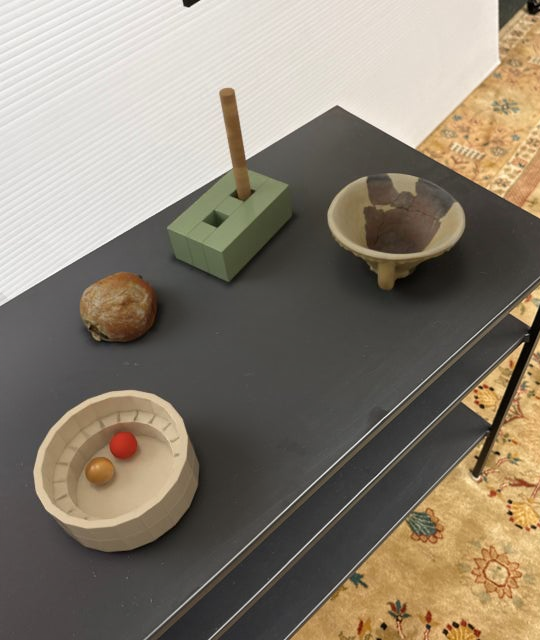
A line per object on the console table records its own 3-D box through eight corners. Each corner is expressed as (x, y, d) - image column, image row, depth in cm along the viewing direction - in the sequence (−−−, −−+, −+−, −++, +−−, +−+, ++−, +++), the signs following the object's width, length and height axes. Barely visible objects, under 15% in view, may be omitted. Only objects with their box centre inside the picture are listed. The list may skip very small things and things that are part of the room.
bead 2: (117, 423, 72) (100, 442, 72) (126, 443, 70) (108, 462, 70) (137, 429, 74) (120, 447, 74) (146, 448, 72) (129, 466, 73)
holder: (175, 258, 94) (166, 227, 90) (241, 195, 103) (236, 164, 98) (228, 282, 91) (221, 251, 86) (292, 215, 99) (289, 184, 94)
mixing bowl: (28, 506, 70) (1, 477, 65) (127, 402, 79) (110, 368, 73) (133, 583, 65) (113, 558, 59) (228, 461, 73) (217, 430, 67)
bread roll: (87, 341, 90) (55, 327, 82) (111, 272, 92) (82, 252, 84) (151, 356, 87) (124, 343, 80) (174, 285, 90) (150, 266, 82)
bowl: (448, 319, 85) (457, 268, 77) (316, 296, 88) (312, 245, 81) (465, 229, 95) (474, 177, 88) (346, 212, 99) (345, 161, 92)
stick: (240, 222, 99) (215, 91, 82) (250, 216, 99) (228, 85, 82) (248, 228, 98) (225, 97, 81) (258, 222, 98) (237, 91, 81)
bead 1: (87, 490, 68) (74, 469, 70) (106, 491, 71) (94, 471, 72) (105, 469, 68) (92, 449, 70) (124, 472, 71) (111, 452, 72)
